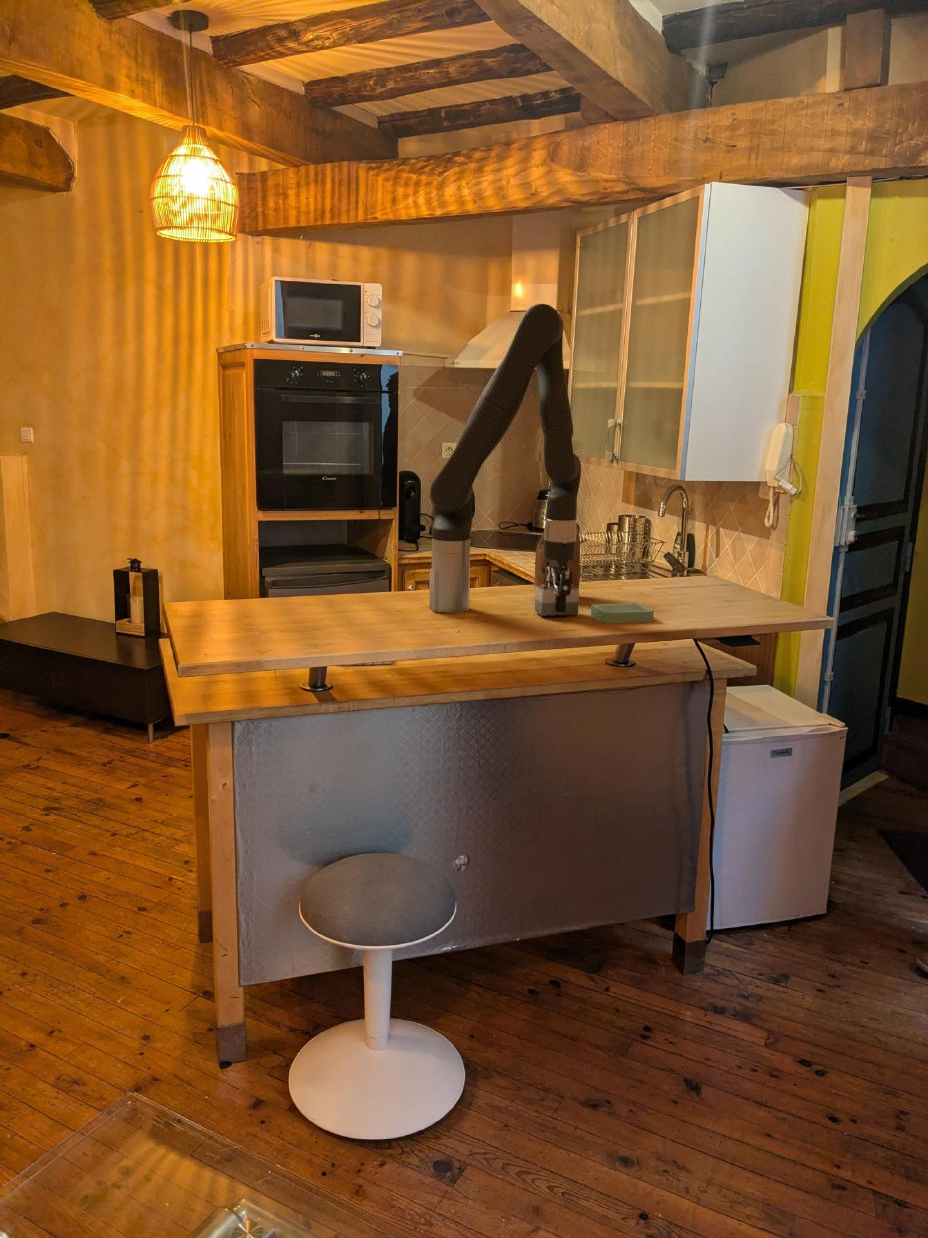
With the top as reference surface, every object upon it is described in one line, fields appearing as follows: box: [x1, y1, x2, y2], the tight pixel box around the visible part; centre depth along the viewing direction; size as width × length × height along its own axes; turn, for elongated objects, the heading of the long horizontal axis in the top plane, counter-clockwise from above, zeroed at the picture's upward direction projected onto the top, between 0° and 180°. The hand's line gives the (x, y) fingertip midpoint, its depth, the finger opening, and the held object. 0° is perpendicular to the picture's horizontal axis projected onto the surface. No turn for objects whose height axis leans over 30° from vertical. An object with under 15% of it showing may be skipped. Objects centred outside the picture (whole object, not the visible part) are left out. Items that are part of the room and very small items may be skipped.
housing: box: [534, 584, 580, 617], centre depth 225 cm, size 9×6×7 cm, turn 103°
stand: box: [590, 602, 655, 624], centre depth 223 cm, size 12×9×2 cm
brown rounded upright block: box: [534, 522, 581, 591], centre depth 244 cm, size 11×8×20 cm
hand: (556, 608), depth 225 cm, fingers closed on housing, 5 cm apart
